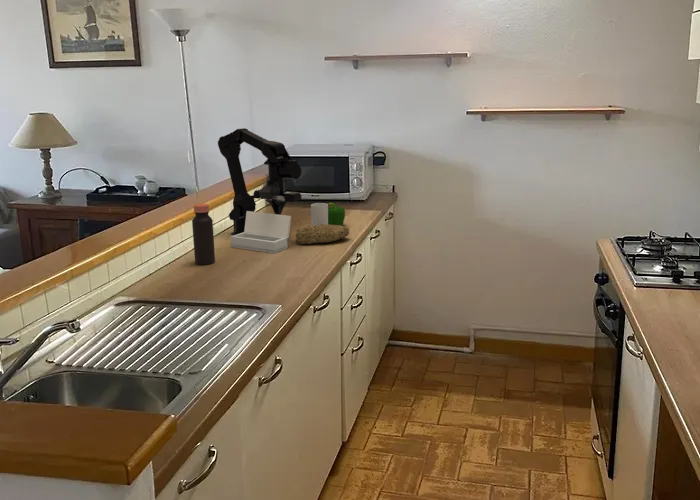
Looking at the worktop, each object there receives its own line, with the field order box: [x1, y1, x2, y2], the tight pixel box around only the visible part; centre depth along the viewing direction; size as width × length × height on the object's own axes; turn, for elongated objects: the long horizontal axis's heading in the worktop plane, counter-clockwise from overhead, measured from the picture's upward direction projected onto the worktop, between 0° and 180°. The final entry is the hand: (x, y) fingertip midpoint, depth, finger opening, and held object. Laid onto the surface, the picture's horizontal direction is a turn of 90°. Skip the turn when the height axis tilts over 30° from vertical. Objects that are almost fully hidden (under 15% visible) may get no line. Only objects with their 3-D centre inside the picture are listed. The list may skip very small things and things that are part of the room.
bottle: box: [191, 203, 216, 266], centre depth 236 cm, size 7×7×20 cm
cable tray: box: [230, 232, 289, 254], centre depth 257 cm, size 20×8×4 cm, turn 60°
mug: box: [310, 202, 329, 227], centre depth 277 cm, size 10×7×12 cm, turn 166°
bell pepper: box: [328, 202, 346, 226], centre depth 290 cm, size 8×8×10 cm
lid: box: [244, 211, 292, 239], centre depth 260 cm, size 20×8×1 cm
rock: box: [295, 224, 350, 245], centre depth 265 cm, size 13×8×20 cm
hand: (278, 217), depth 266 cm, fingers closed
